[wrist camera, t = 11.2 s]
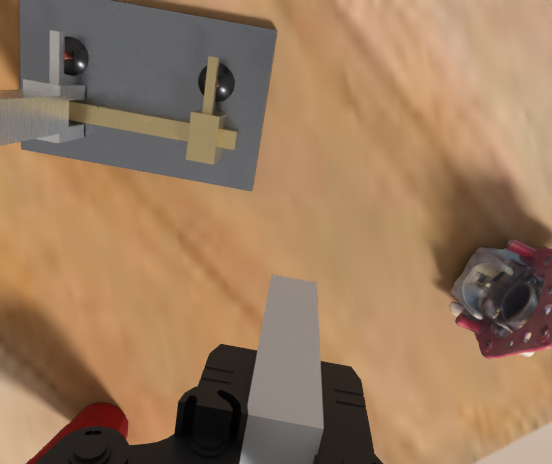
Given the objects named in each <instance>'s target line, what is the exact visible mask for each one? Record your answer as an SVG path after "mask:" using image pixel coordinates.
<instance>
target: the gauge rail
mask: <svg viewBox="0 0 552 464" xmlns="http://www.w3.org/2000/svg"><path fill="white" fill-rule="evenodd" d="M219 64H220V58H217V57H211V56H209V57H208V66H207V75H206V83H205V92H204V101H203V110H196V111H192V112H191V116H190V122H189V121H184V120H178V119H172V118H167V117H161V116H156V115H150V114H145V113H139V112H134V111H128V110H123V109H117V108H112V107H106V106H101V105H95V104H90V103H84V102H79V101H73V100H70V101H69V120H72V121H77V122H83V123H88V124H94V125H99V126H105V127H110V128H116V129H121V130H127V131H132V132H138V133H143V134H149V135H154V136H160V137H165V138H171V139H176V140H182V141H187V142H188V144H187V154H186V160H191V161H196V162H202V163H207V164H213V165H214V164H215V163H216V162H217V161H218V160H219V159H220V158H221V151H222V148H226V149H231V150H235V149H236V146H237V139H238V132H239V130H233V129H228V128H225V120H226V114H222V113H216V112H214V105H215V97H216V89H217V87H219V86H220V80H219V79H218V72H219Z"/></svg>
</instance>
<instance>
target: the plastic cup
mask: <svg viewBox="0 0 552 464" xmlns="http://www.w3.org/2000/svg"><path fill="white" fill-rule="evenodd" d="M92 426H104V427H108V428H113V429H115V430H116V431H118V432H119V433H121V434H122V435H124V437H125V439H126V438H127V435H128V421H127V419H126V416H125V414H124V413H122V412H121V411H120V410H119V409H118V408H117V407H115V406H113V405H111V404H106V403H95V404H91V405H90V406H88V407H87V408H85V409H84V410H83V411H81V412H80V413H79V414H78V415H77V416H76V417H75V418H74V419H73V420H72V421H71V422H70V423H69V424H68V425H66V426H65V427H64V428H63V429H62V430H61V431H60V432H59V433H58V434H57V435H56V436H55V437H54V438H53V439H52V440H51V441H50V442H49V443H48V444H47V445H46V446H45V447H43V448H42V449H41V450H40V451H39V452H38V453H37V454H36V455H35V456H34V457H33V458H32V459H30V460H29V461H28V462H27V463H26V464H34V463H35V462H37V461H38V460H39V459H40V458H41V457H42V456H43V455H44V454H45V453H46V452H47V451H48V450H49V449H50V448H52V447H53V446H54V445H55V444H56V443H57V442H58V441H59V440H60V439H62V438H63V437H65V436H66V435H68V434H69V433H71V432H73V431H75V430H78V429H81V428H84V427H92Z"/></svg>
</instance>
